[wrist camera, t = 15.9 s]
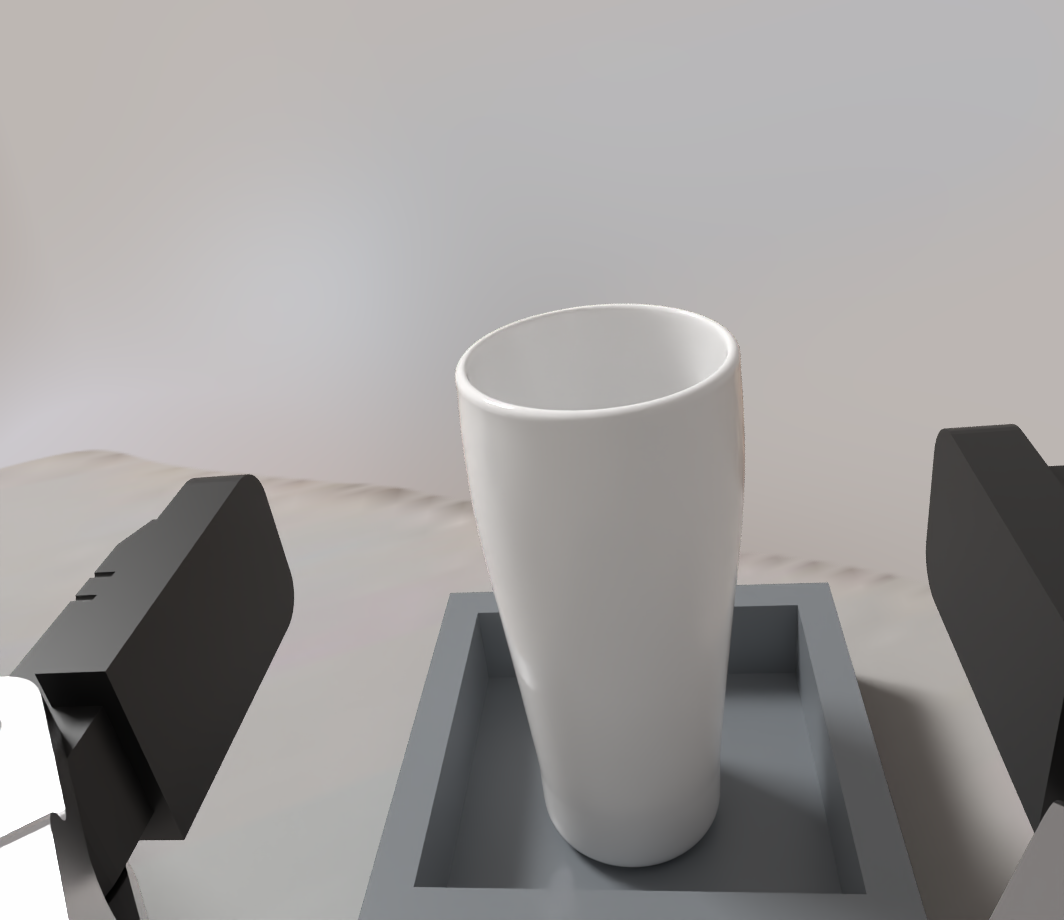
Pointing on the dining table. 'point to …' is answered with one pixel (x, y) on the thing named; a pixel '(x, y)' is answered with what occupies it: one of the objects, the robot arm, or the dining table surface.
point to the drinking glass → (613, 557)
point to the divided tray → (730, 843)
